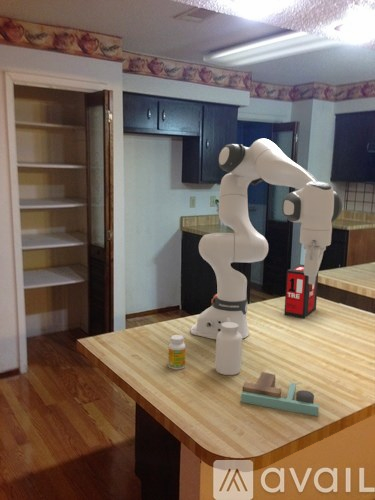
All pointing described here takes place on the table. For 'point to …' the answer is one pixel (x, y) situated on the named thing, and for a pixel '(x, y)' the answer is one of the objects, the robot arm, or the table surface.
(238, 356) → the pill bottle
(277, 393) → the t block
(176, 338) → the supplement bottle
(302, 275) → the cleaning product box
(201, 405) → the table surface
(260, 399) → the rail
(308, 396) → the grey rounded lump
